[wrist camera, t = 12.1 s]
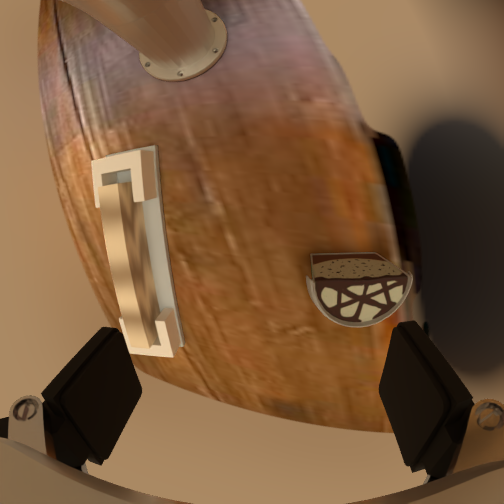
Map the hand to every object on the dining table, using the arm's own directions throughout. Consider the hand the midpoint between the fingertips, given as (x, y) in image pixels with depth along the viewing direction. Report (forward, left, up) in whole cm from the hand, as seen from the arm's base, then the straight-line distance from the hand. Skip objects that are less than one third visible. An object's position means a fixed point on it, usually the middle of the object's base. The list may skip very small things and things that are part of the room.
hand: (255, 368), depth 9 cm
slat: (+4, -18, -27) cm, 33 cm away
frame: (+4, -18, -28) cm, 34 cm away
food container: (+8, +10, -28) cm, 31 cm away
